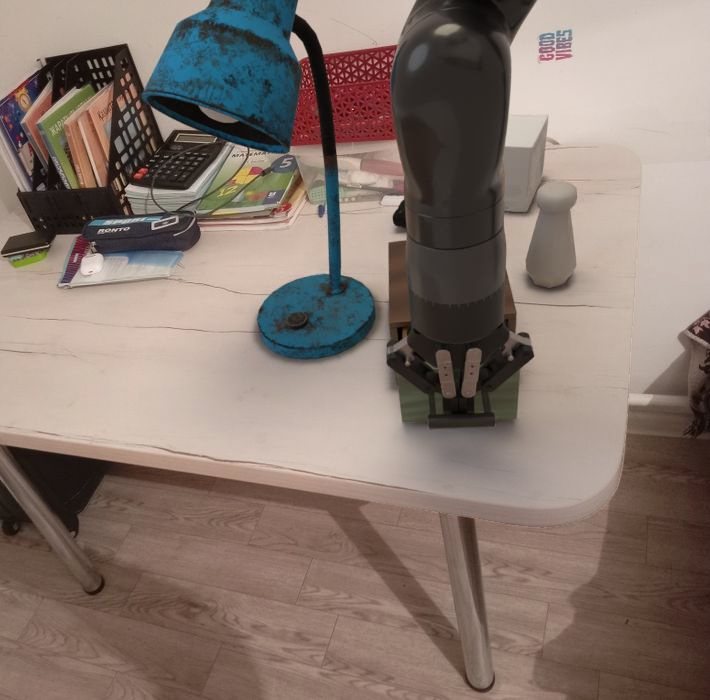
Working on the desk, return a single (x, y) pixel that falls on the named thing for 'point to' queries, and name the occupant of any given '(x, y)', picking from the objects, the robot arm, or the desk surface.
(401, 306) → the cabinet
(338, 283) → the desk lamp
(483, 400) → the drawer
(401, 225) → the tape measure
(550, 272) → the salt shaker
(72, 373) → the desk surface
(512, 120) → the cosmetics box
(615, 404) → the desk surface
